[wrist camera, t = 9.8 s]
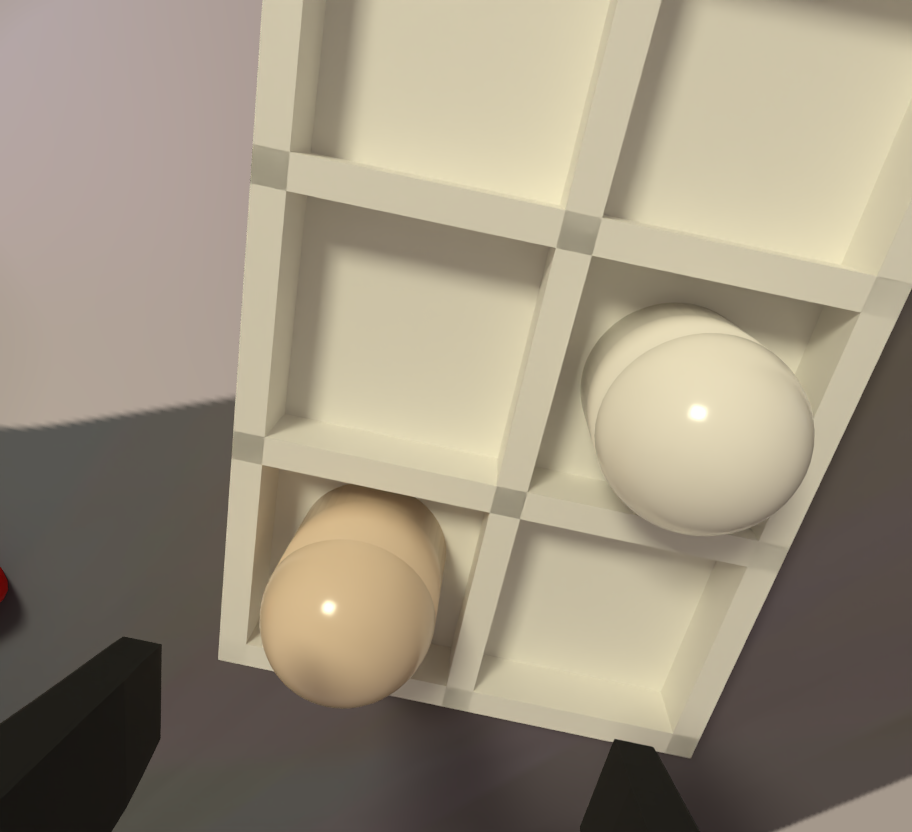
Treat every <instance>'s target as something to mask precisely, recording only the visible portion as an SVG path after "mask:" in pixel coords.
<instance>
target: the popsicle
mask: <svg viewBox="0 0 912 832" xmlns="http://www.w3.org/2000/svg"><path fill="white" fill-rule="evenodd" d="M7 591H8V583H7V578H6V576H5V574H4V572H3V570H2V569H1V567H0V602H1V601H2V600H3V599H4V597H5V595H6V593H7Z"/></svg>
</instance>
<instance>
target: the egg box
mask: <svg viewBox="0 0 912 832" xmlns="http://www.w3.org/2000/svg"><path fill="white" fill-rule="evenodd" d="M258 61H259V62H258V76H257V90H256V105H255V121H254V135H253V149H252V164H251V180H250V194H249V209H248V224H247V238H246V253H245V268H244V283H243V298H242V312H241V313H242V314H241V327H240V343H239V357H238V373H237V387H236V401H235V416H234V431H233V446H232V461H231V475H230V490H229V505H228V520H227V535H226V549H225V564H224V579H223V594H222V609H221V624H220V638H219V653H218V660H223V661H228V662H233V663H237V664H242V665H247V666H252V667H257V668H261V669H266V670H271V671H274V670H273V669H272V667H271V666H270V663H269V661H268V659H267V657H266V654H265V652H264V649H263V646H262V641H261V635H260V628H259V625H260V608H261V602H262V598H263V594H264V591H265V588H266V586H267V583H268V581H269V579H270V577H271V575H272V573H273V572H274V570H275V568H276V566H277V565H278V563H279V561H280V559H281V558H282V556H283V554H284V553H285V551H286V549H287V547H288V546H289V544H290V542H291V540H292V539H293V537H294V535H295V533H296V532H297V530H298V528H299V527H300V525H301V523H302V521H303V520H304V518H305V516H306V514H307V513H308V511H309V509H310V508H311V507H312V505H313V504H314V503H315V502H316V501H317V500H318V499H319V498H320V497H322V496H323V495H325V494H326V493H327V492H329V491H331V490H333V489H335V488H337V487H340V486H343V485H347V484H355V485H360V486H365V487H369V488H374V489H379V490H384V491H388V492H393V493H398V494H403V495H407V496H412V497H415V498H417V499H418V500H420V501H421V502H422V503H423V504H424V505H425V506H426V507H427V508H428V509H429V510H430V511H431V512H432V513H433V515H434V516H435V518H436V519H437V521H438V522H439V524H440V526H441V529H442V531H443V534H444V537H445V542H446V561H445V567H444V573H443V579H442V586H441V592H440V598H439V604H438V610H437V617H436V623H435V629H434V634H433V638H432V641H431V644H430V647H429V650H428V652H427V654H426V656H425V658H424V660H423V662H422V663H421V665H420V666H419V668H418V669H417V670H416V672H415V673H414V674H413V676H412V677H411V678H410V679H409V680H408V681H407V682H406V683H405V684H404V685H403V686H402V687H400V688H399V689H398V690H397V691H395V692H394V693H392V694H391V695H390V696H395V697H400V698H405V699H409V700H414V701H419V702H424V703H428V704H433V705H438V706H443V707H448V708H452V709H457V710H462V711H467V712H471V713H476V714H481V715H486V716H491V717H495V718H500V719H505V720H510V721H514V722H519V723H524V724H529V725H534V726H538V727H543V728H548V729H553V730H557V731H562V732H567V733H572V734H576V735H581V736H586V737H591V738H596V739H600V740H605V741H610V742H613V741H614V739H618V740H623V741H628V742H633V743H637V744H642V745H647V746H652V747H654V749H655V751H658V752H662V753H667V754H672V755H677V756H682V757H686V758H691V756H692V754H693V752H694V750H695V748H696V746H697V744H698V742H699V739H700V737H701V735H702V733H703V731H704V729H705V727H706V725H707V722H708V720H709V718H710V716H711V714H712V712H713V710H714V707H715V705H716V703H717V701H718V699H719V697H720V695H721V693H722V690H723V688H724V686H725V684H726V682H727V680H728V678H729V676H730V673H731V671H732V669H733V667H734V665H735V663H736V661H737V659H738V656H739V654H740V652H741V650H742V648H743V646H744V644H745V642H746V639H747V637H748V635H749V633H750V631H751V629H752V627H753V625H754V622H755V620H756V618H757V616H758V614H759V612H760V610H761V608H762V605H763V603H764V601H765V599H766V597H767V595H768V593H769V591H770V588H771V586H772V584H773V582H774V580H775V578H776V576H777V574H778V571H779V569H780V567H781V565H782V563H783V561H784V559H785V557H786V554H787V552H788V550H789V548H790V546H791V544H792V542H793V540H794V537H795V535H796V533H797V531H798V529H799V527H800V525H801V523H802V520H803V518H804V516H805V514H806V512H807V510H808V508H809V506H810V503H811V501H812V499H813V497H814V495H815V493H816V491H817V489H818V486H819V484H820V482H821V480H822V478H823V476H824V474H825V472H826V469H827V467H828V465H829V463H830V461H831V459H832V457H833V455H834V452H835V450H836V448H837V446H838V444H839V442H840V440H841V438H842V435H843V433H844V431H845V429H846V427H847V425H848V423H849V421H850V418H851V416H852V414H853V412H854V410H855V408H856V406H857V404H858V401H859V399H860V397H861V395H862V393H863V391H864V389H865V387H866V384H867V382H868V380H869V378H870V376H871V374H872V372H873V370H874V367H875V365H876V363H877V361H878V359H879V357H880V355H881V353H882V350H883V348H884V346H885V344H886V342H887V340H888V338H889V336H890V333H891V331H892V329H893V327H894V325H895V323H896V321H897V319H898V316H899V314H900V312H901V310H902V308H903V306H904V304H905V302H906V299H907V297H908V295H909V293H910V291H911V289H912V0H263V1H262V16H261V31H260V46H259V60H258ZM662 303H688V304H695V305H699V306H702V307H706V308H708V309H710V310H712V311H715V312H717V313H718V314H720V315H722V316H723V317H725V318H726V319H728V320H729V321H730V322H732V323H733V324H734V325H736V326H737V327H739V328H740V329H741V330H743V331H744V332H745V333H747V334H748V335H750V336H751V337H752V338H754V339H755V340H756V341H758V342H759V343H761V344H762V345H763V346H765V347H766V348H767V349H769V350H770V351H772V352H773V353H774V354H775V355H776V356H777V357H779V358H780V359H781V360H782V361H783V362H784V363H785V364H786V365H787V366H788V367H789V368H790V369H791V371H792V372H793V373H794V374H795V375H796V377H797V379H798V380H799V382H800V383H801V385H802V387H803V389H804V390H805V392H806V395H807V397H808V400H809V402H810V405H811V410H812V414H813V419H814V428H815V440H814V449H813V454H812V459H811V463H810V466H809V468H808V471H807V474H806V476H805V477H804V479H803V481H802V483H801V485H800V486H799V488H798V489H797V490H796V492H795V493H794V495H793V496H792V497H791V498H790V499H789V500H788V502H787V503H786V504H785V505H784V506H783V507H782V508H780V509H779V510H778V511H777V512H776V513H775V514H773V515H772V516H770V517H769V518H767V519H766V520H764V521H762V522H760V523H759V524H757V525H755V526H752V527H750V528H747V529H745V530H742V531H738V532H735V533H731V534H725V535H718V536H691V535H685V534H680V533H676V532H672V531H669V530H666V529H663V528H661V527H658V526H656V525H654V524H652V523H650V522H648V521H647V520H645V519H643V518H642V517H640V516H639V515H637V514H636V513H635V512H633V511H632V510H631V509H629V508H628V507H627V506H626V505H625V504H624V503H623V502H622V501H621V500H620V498H619V497H618V496H617V495H616V494H615V492H614V491H613V490H612V488H611V487H610V486H609V484H608V482H607V480H606V478H605V476H604V474H603V472H602V470H601V467H600V465H599V462H598V459H597V456H596V453H595V449H594V446H593V443H592V439H591V436H590V433H589V429H588V426H587V422H586V419H585V416H584V412H583V409H582V404H581V396H580V385H581V377H582V372H583V368H584V365H585V363H586V360H587V358H588V356H589V354H590V352H591V350H592V348H593V347H594V345H595V344H596V343H597V341H598V340H599V339H600V337H601V336H602V335H603V334H604V333H605V332H606V331H607V330H608V329H609V328H610V327H611V326H613V325H614V324H615V323H616V322H618V321H619V320H621V319H622V318H624V317H625V316H627V315H629V314H631V313H633V312H635V311H637V310H640V309H642V308H645V307H648V306H652V305H656V304H662Z"/></svg>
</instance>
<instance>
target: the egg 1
mask: <svg viewBox="0 0 912 832" xmlns="http://www.w3.org/2000/svg"><path fill="white" fill-rule="evenodd" d="M445 561H446V542H445V537H444V534H443V531H442V529H441V526H440V524H439V522H438V521H437V519H436V518H435V516H434V515H433V513H432V512H431V511H430V510H429V509H428V508H427V507H426V506H425V505H424V504H423V503H422V502H421V501H420V500H418V499H417V498H415V497H412V496H407V495H403V494H398V493H393V492H388V491H384V490H379V489H374V488H369V487H365V486H360V485H355V484H347V485H343V486H340V487H337V488H335V489H333V490H331V491H329V492H327V493H326V494H325V495H323V496H322V497H320V498H319V499H318V500H317V501H316V502H315V503H314V504H313V505H312V507H311V508H310V509H309V511H308V513H307V514H306V516H305V518H304V520H303V521H302V523H301V525H300V527H299V528H298V530H297V532H296V533H295V535H294V537H293V539H292V540H291V542H290V544H289V546H288V547H287V549H286V551H285V553H284V554H283V556H282V558H281V559H280V561H279V563H278V565H277V566H276V568H275V570H274V572H273V573H272V575H271V577H270V579H269V581H268V583H267V586H266V588H265V591H264V594H263V598H262V602H261V608H260V625H259V628H260V635H261V641H262V646H263V649H264V652H265V654H266V657H267V659H268V661H269V663H270V666H271V667H272V669H273V670H274V672H275V673H276V675H277V676H278V677H279V678H280V679H281V681H282V682H283V683H284V684H285V685H286V686H287V687H288V688H289V689H290V690H292V691H293V692H294V693H296V694H297V695H299V696H300V697H302V698H304V699H306V700H308V701H310V702H313V703H315V704H318V705H322V706H326V707H332V708H355V707H361V706H365V705H368V704H372V703H375V702H377V701H380V700H382V699H383V698H385V697H387V696H389V695H391V694H392V693H394V692H395V691H397V690H398V689H399V688H400V687H402V686H403V685H404V684H405V683H406V682H407V681H408V680H409V679H410V678H411V677H412V676H413V674H414V673H415V672H416V670H417V669H418V668H419V666H420V665H421V663H422V662H423V660H424V658H425V656H426V654H427V652H428V650H429V647H430V644H431V641H432V638H433V634H434V629H435V623H436V617H437V610H438V604H439V598H440V592H441V586H442V579H443V573H444V567H445Z"/></svg>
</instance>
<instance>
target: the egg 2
mask: <svg viewBox="0 0 912 832" xmlns="http://www.w3.org/2000/svg"><path fill="white" fill-rule="evenodd" d="M580 396H581V404H582V409H583V412H584V416H585V419H586V422H587V426H588V429H589V433H590V436H591V439H592V443H593V446H594V449H595V453H596V456H597V459H598V462H599V465H600V467H601V470H602V472H603V474H604V476H605V478H606V480H607V482H608V484H609V486H610V487H611V488H612V490H613V491H614V492H615V494H616V495H617V496H618V497H619V498H620V500H621V501H622V502H623V503H624V504H625V505H626V506H627V507H628V508H629V509H631V510H632V511H633V512H635V513H636V514H637V515H639V516H640V517H642V518H643V519H645V520H647V521H648V522H650V523H652V524H654V525H656V526H658V527H661V528H663V529H666V530H669V531H672V532H676V533H680V534H685V535H691V536H718V535H725V534H731V533H735V532H738V531H742V530H745V529H747V528H750V527H752V526H755V525H757V524H759V523H760V522H762V521H764V520H766V519H767V518H769V517H770V516H772V515H773V514H775V513H776V512H777V511H778V510H779V509H780V508H782V507H783V506H784V505H785V504H786V503H787V502H788V500H789V499H790V498H791V497H792V496H793V495H794V493H795V492H796V490H797V489H798V488H799V486H800V485H801V483H802V481H803V479H804V477H805V476H806V474H807V471H808V468H809V466H810V463H811V459H812V454H813V449H814V440H815V428H814V419H813V414H812V410H811V405H810V402H809V400H808V397H807V395H806V392H805V390H804V389H803V387H802V385H801V383H800V382H799V380H798V379H797V377H796V375H795V374H794V373H793V372H792V371H791V369H790V368H789V367H788V366H787V365H786V364H785V363H784V362H783V361H782V360H781V359H780V358H779V357H777V356H776V355H775V354H774V353H773V352H772V351H770V350H769V349H767V348H766V347H765V346H763V345H762V344H761V343H759V342H758V341H756V340H755V339H754V338H752V337H751V336H750V335H748V334H747V333H745V332H744V331H743V330H741V329H740V328H739V327H737V326H736V325H734V324H733V323H732V322H730V321H729V320H728V319H726V318H725V317H723V316H722V315H720V314H718V313H717V312H715V311H712V310H710V309H708V308H706V307H702V306H699V305H695V304H688V303H662V304H656V305H652V306H648V307H645V308H642V309H640V310H637V311H635V312H633V313H631V314H629V315H627V316H625V317H624V318H622V319H621V320H619V321H618V322H616V323H615V324H614V325H613V326H611V327H610V328H609V329H608V330H607V331H606V332H605V333H604V334H603V335H602V336H601V337H600V339H599V340H598V341H597V343H596V344H595V345H594V347H593V348H592V350H591V352H590V354H589V356H588V358H587V360H586V363H585V365H584V368H583V372H582V377H581V385H580Z"/></svg>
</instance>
